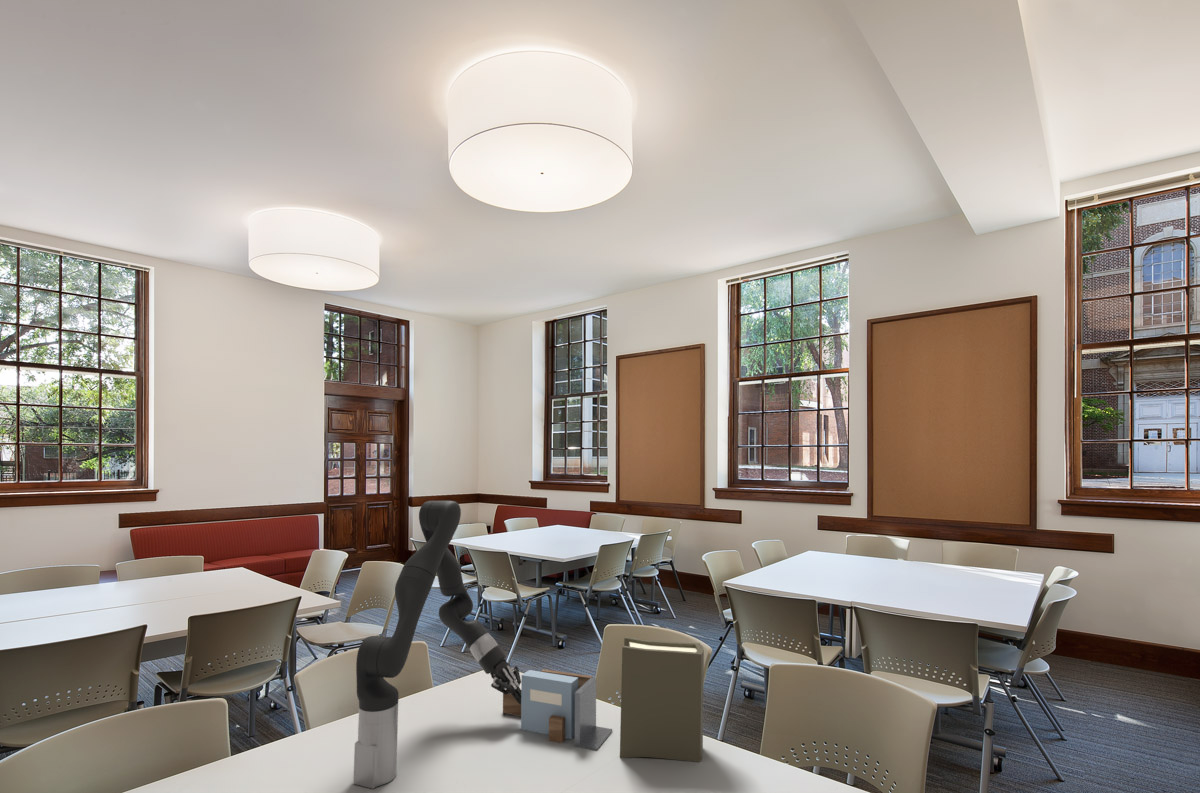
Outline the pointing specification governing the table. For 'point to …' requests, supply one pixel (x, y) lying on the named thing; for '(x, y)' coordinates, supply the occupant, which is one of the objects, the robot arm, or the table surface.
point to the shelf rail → (554, 721)
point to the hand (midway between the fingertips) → (523, 701)
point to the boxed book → (547, 701)
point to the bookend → (588, 718)
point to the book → (662, 700)
